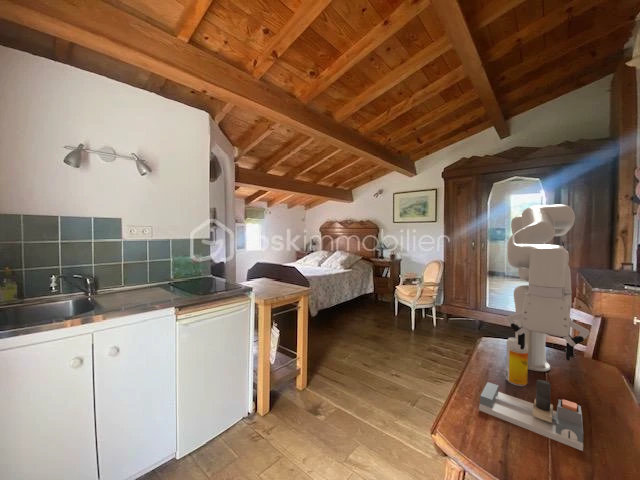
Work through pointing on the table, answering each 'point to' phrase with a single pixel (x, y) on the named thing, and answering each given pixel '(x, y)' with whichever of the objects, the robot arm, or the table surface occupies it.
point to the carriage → (543, 401)
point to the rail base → (520, 413)
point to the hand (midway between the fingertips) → (544, 353)
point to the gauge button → (569, 405)
